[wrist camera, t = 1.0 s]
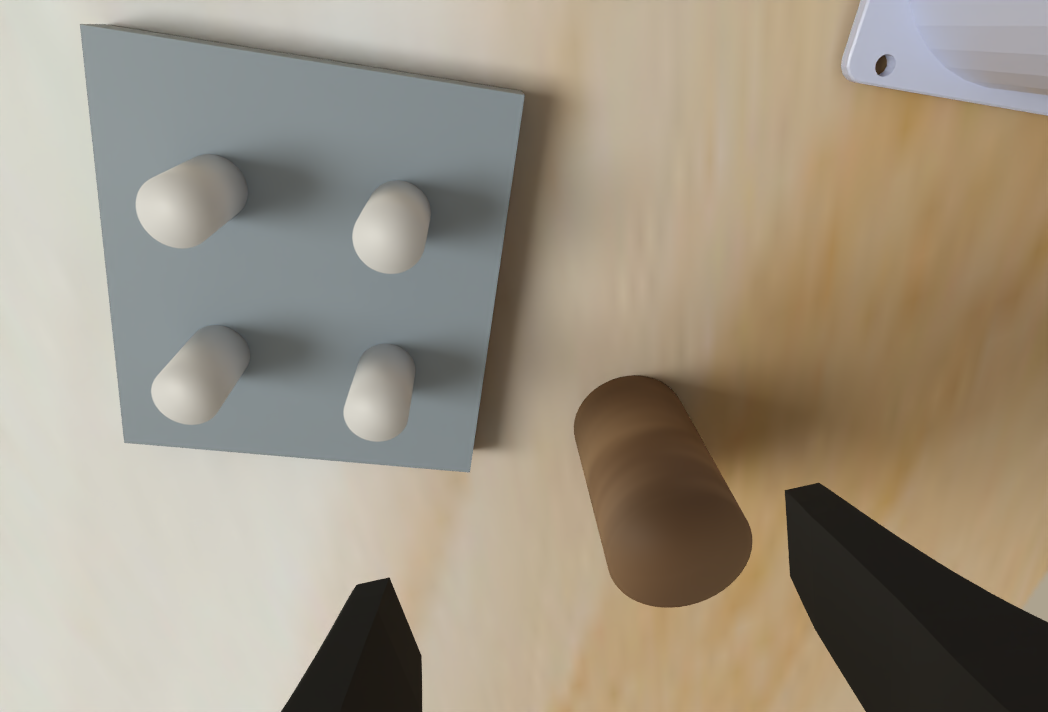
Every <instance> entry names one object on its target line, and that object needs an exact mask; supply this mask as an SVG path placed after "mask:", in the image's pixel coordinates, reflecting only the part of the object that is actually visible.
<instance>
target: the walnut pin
mask: <svg viewBox="0 0 1048 712" xmlns="http://www.w3.org/2000/svg"><path fill="white" fill-rule="evenodd" d="M574 435H575V440H576V444H577V448H578V452H579V456H580V460H581V464H582V467H583V471H584V475H585V479H586V483H587V487H588V491H589V495H590V499H591V503H592V507H593V511H594V515H595V519H596V522H597V526H598V530H599V534H600V538H601V542H602V546H603V550H604V554H605V558H606V562H607V566H608V570H609V573H610V575H611V578H612V580H613V581H614V583H615V584H616V586H617V587H618V588H619V589H620V590H621V591H622V592H623V593H624V594H625V595H627V596H628V597H630V598H632V599H633V600H635V601H637V602H640V603H643V604H646V605H650V606H655V607H682V606H687V605H691V604H695V603H699V602H701V601H704V600H706V599H708V598H710V597H712V596H714V595H716V594H718V593H719V592H721V591H723V590H724V589H725V588H726V587H728V586H729V585H730V584H731V583H732V582H733V581H734V580H735V579H736V578H737V577H738V576H739V575H740V573H741V572H742V571H743V569H744V567H745V566H746V564H747V562H748V560H749V557H750V554H751V550H752V533H751V529H750V526H749V524H748V521H747V520H746V518H745V516H744V514H743V512H742V511H741V509H740V507H739V505H738V503H737V502H736V500H735V498H734V496H733V494H732V493H731V491H730V489H729V487H728V486H727V484H726V482H725V480H724V478H723V477H722V475H721V473H720V471H719V469H718V468H717V466H716V464H715V462H714V460H713V459H712V457H711V455H710V453H709V452H708V450H707V448H706V446H705V444H704V443H703V441H702V439H701V437H700V435H699V434H698V432H697V430H696V428H695V426H694V425H693V423H692V421H691V419H690V418H689V416H688V414H687V412H686V410H685V409H684V407H683V405H682V403H681V401H680V400H679V398H678V396H677V395H676V394H675V392H674V391H673V390H672V389H671V388H669V387H668V386H667V385H666V384H664V383H662V382H660V381H658V380H656V379H653V378H650V377H645V376H625V377H620V378H616V379H613V380H611V381H608V382H606V383H604V384H602V385H601V386H599V387H598V388H596V389H595V390H594V391H592V392H591V393H590V394H589V395H588V396H587V397H586V399H585V400H584V401H583V403H582V404H581V406H580V407H579V410H578V412H577V414H576V418H575V422H574Z"/></svg>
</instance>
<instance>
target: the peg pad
mask: <svg viewBox="0 0 1048 712" xmlns="http://www.w3.org/2000/svg"><path fill="white" fill-rule="evenodd" d="M80 29H81V38H82V48H83V57H84V67H85V76H86V86H87V95H88V105H89V114H90V123H91V133H92V142H93V152H94V161H95V171H96V180H97V190H98V199H99V208H100V218H101V227H102V237H103V246H104V256H105V265H106V275H107V284H108V293H109V303H110V312H111V322H112V331H113V341H114V350H115V359H116V369H117V378H118V388H119V397H120V407H121V416H122V426H123V435H124V443H134V444H145V445H157V446H169V447H180V448H192V449H204V450H215V451H227V452H238V453H250V454H262V455H273V456H285V457H297V458H308V459H320V460H331V461H343V462H355V463H366V464H378V465H390V466H401V467H413V468H424V469H436V470H448V471H459V472H470V467H471V460H472V453H473V447H474V440H475V433H476V426H477V419H478V412H479V405H480V398H481V392H482V385H483V378H484V371H485V364H486V357H487V350H488V343H489V337H490V330H491V323H492V316H493V309H494V302H495V295H496V289H497V282H498V275H499V268H500V261H501V254H502V247H503V240H504V234H505V227H506V220H507V213H508V206H509V199H510V192H511V185H512V179H513V172H514V165H515V158H516V151H517V144H518V137H519V131H520V124H521V117H522V110H523V103H524V96H525V95H524V94H523V92H522V91H519V90H513V89H507V88H501V87H494V86H488V85H482V84H476V83H469V82H463V81H457V80H451V79H444V78H438V77H432V76H426V75H419V74H413V73H407V72H401V71H394V70H388V69H382V68H375V67H369V66H363V65H357V64H350V63H344V62H338V61H332V60H325V59H319V58H313V57H307V56H300V55H294V54H288V53H282V52H275V51H269V50H263V49H257V48H250V47H244V46H238V45H232V44H225V43H219V42H213V41H206V40H200V39H194V38H188V37H181V36H175V35H169V34H163V33H156V32H150V31H144V30H138V29H131V28H125V27H119V26H113V25H106V24H80Z"/></svg>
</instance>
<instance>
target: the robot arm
mask: <svg viewBox="0 0 1048 712" xmlns="http://www.w3.org/2000/svg"><path fill="white" fill-rule="evenodd" d="M883 55H885V56H886V59H887V67H886V68H885V70H884V71H883V72H882V73H881V74H879V75H877V73H876V71H875V65H876V62H877V61H878V59H879V58H880V57H881V56H883ZM841 69H842V73H843V75H844V76H845V78H846V79H847V80H849V81H852V82H855V83H861V84H867V85H872V86H878V87H884V88H890V89H896V90H901V91H907V92H913V93H919V94H925V95H930V96H936V97H942V98H948V99H954V100H959V101H965V102H971V103H977V104H983V105H988V106H994V107H1000V108H1006V109H1012V110H1017V111H1023V112H1029V113H1035V114H1041V115H1046V116H1048V0H861V1H860V4H859V7H858V11H857V14H856V17H855V20H854V23H853V26H852V29H851V32H850V35H849V39H848V42H847V45H846V48H845V51H844V54H843V57H842V63H841ZM785 500H786V516H787V532H788V549H789V565H790V577H791V579H792V581H793V583H794V585H795V588H796V590H797V592H798V594H799V596H800V599H801V601H802V603H803V605H804V607H805V609H806V611H807V613H808V616H809V618H810V620H811V622H812V624H813V626H814V628H815V630H816V632H817V633H818V635H819V637H820V638H821V640H822V642H823V643H824V645H825V646H826V648H827V650H828V651H829V653H830V655H831V656H832V658H833V659H834V661H835V663H836V664H837V666H838V668H839V669H840V671H841V672H842V674H843V676H844V677H845V679H846V680H847V682H848V684H849V685H850V687H851V689H852V690H853V692H854V693H855V695H856V697H857V698H858V700H859V701H860V703H861V705H862V706H863V708H864V709H865V711H866V712H1048V622H1046V621H1044V620H1042V619H1040V618H1038V617H1036V616H1034V615H1032V614H1029V613H1028V612H1026V611H1024V610H1022V609H1020V608H1018V607H1016V606H1014V605H1012V604H1010V603H1008V602H1006V601H1004V600H1003V599H1001V598H999V597H997V596H995V595H993V594H991V593H990V592H988V591H986V590H984V589H983V588H981V587H979V586H977V585H976V584H974V583H972V582H970V581H969V580H967V579H965V578H963V577H962V576H960V575H958V574H956V573H955V572H953V571H951V570H950V569H948V568H947V567H945V566H943V565H942V564H940V563H938V562H937V561H935V560H934V559H932V558H930V557H929V556H927V555H926V554H924V553H923V552H921V551H919V550H918V549H916V548H915V547H913V546H912V545H910V544H908V543H907V542H905V541H904V540H902V539H901V538H899V537H898V536H896V535H895V534H893V533H892V532H890V531H889V530H887V529H886V528H884V527H883V526H881V525H880V524H878V523H877V522H875V521H874V520H873V519H871V518H870V517H868V516H867V515H865V514H864V513H862V512H861V511H859V510H858V509H857V508H855V507H854V506H852V505H851V504H849V503H848V502H847V501H845V500H844V499H842V498H841V497H839V496H838V495H836V494H835V493H834V492H832V491H831V490H829V489H828V488H826V487H825V486H823V485H822V484H820V483H816V484H811V485H807V486H802V487H798V488H793V489H789V490H785ZM281 712H422V661H421V654H420V651H419V649H418V646H417V644H416V641H415V639H414V637H413V634H412V632H411V629H410V627H409V624H408V622H407V619H406V617H405V614H404V612H403V610H402V607H401V605H400V602H399V600H398V597H397V595H396V592H395V590H394V588H393V585H392V583H391V580H390V578H385V579H380V580H376V581H371V582H367V583H362V584H358V585H356V587H355V588H354V590H353V591H352V593H351V595H350V596H349V598H348V600H347V602H346V603H345V605H344V607H343V609H342V610H341V612H340V614H339V616H338V618H337V619H336V621H335V623H334V625H333V626H332V628H331V630H330V632H329V633H328V635H327V637H326V639H325V640H324V642H323V644H322V646H321V647H320V649H319V651H318V653H317V654H316V656H315V658H314V659H313V661H312V663H311V664H310V666H309V668H308V669H307V671H306V673H305V674H304V676H303V677H302V679H301V681H300V682H299V684H298V686H297V687H296V689H295V691H294V692H293V694H292V695H291V697H290V699H289V700H288V702H287V703H286V705H285V706H284V708H283V709H282V711H281Z"/></svg>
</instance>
